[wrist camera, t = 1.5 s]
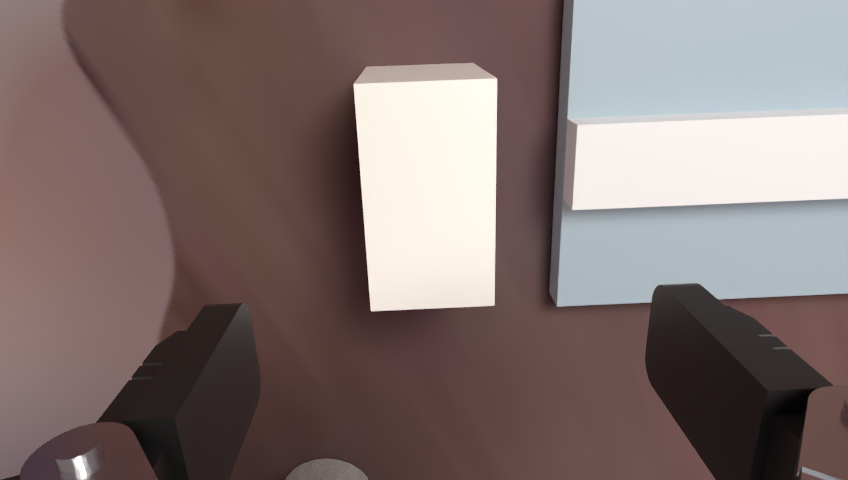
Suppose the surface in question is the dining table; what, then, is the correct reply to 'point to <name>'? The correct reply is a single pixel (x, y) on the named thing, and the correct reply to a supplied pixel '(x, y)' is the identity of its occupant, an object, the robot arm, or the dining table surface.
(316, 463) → the house plant
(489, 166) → the din module
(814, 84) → the rail board
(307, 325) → the dining table surface
